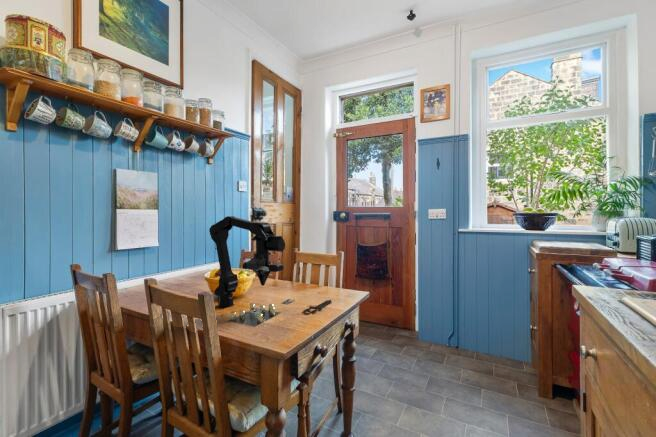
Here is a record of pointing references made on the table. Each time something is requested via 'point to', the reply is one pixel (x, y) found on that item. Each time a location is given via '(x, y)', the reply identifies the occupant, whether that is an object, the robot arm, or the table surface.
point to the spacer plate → (246, 320)
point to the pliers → (287, 302)
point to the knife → (317, 307)
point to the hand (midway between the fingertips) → (262, 285)
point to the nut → (254, 313)
